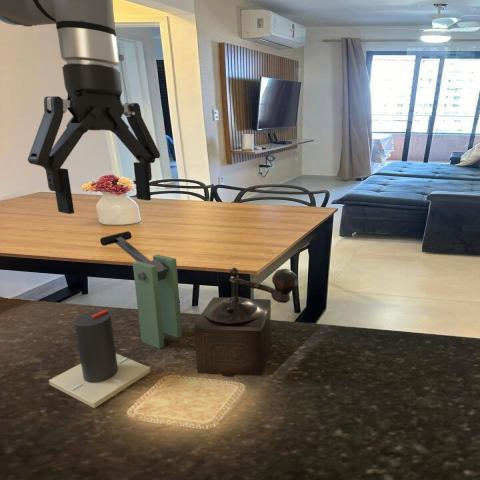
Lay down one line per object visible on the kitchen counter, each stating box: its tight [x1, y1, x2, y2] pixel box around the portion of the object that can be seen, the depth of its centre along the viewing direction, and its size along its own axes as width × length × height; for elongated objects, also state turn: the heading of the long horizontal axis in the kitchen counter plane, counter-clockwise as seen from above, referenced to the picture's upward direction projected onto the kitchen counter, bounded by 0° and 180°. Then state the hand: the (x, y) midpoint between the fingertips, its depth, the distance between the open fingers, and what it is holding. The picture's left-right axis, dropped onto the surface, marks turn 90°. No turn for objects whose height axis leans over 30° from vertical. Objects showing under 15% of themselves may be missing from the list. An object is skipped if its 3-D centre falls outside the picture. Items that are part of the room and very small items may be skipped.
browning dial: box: [73, 309, 118, 383], centre depth 55 cm, size 4×4×9 cm
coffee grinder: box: [193, 267, 299, 378], centre depth 60 cm, size 16×11×18 cm
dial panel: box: [48, 353, 152, 409], centre depth 56 cm, size 10×9×2 cm
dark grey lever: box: [99, 230, 168, 281], centre depth 65 cm, size 12×5×2 cm, turn 61°
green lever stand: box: [132, 253, 183, 350], centre depth 65 cm, size 10×9×16 cm
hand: (108, 205), depth 63 cm, fingers open, 13 cm apart
